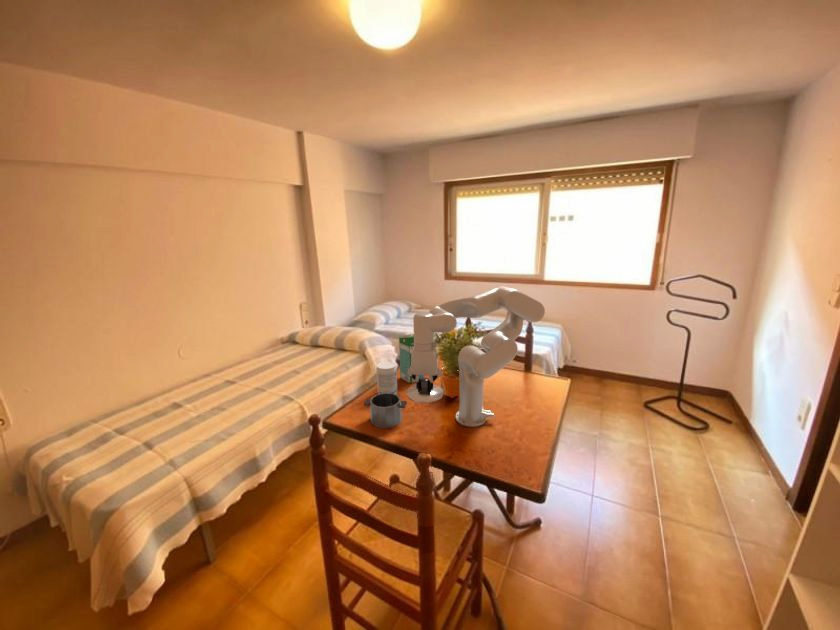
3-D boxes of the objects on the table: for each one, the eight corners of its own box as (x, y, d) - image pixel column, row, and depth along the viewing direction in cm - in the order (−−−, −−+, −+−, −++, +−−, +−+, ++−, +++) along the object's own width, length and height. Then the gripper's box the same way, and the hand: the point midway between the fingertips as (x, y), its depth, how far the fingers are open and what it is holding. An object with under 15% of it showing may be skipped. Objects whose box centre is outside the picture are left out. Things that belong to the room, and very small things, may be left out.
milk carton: (413, 373, 186) (412, 329, 180) (423, 378, 179) (423, 333, 173) (400, 377, 181) (398, 333, 174) (410, 383, 174) (409, 337, 168)
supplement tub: (401, 394, 163) (400, 366, 159) (383, 399, 158) (382, 370, 154) (391, 386, 171) (390, 359, 167) (374, 391, 165) (372, 363, 162)
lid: (443, 388, 137) (443, 372, 135) (442, 406, 123) (442, 388, 121) (409, 388, 138) (408, 371, 136) (404, 405, 125) (404, 387, 123)
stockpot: (409, 412, 146) (408, 394, 144) (403, 429, 134) (402, 409, 132) (370, 410, 149) (369, 391, 146) (361, 426, 136) (360, 406, 134)
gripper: (447, 343, 128) (447, 387, 132) (404, 341, 130) (405, 385, 135) (445, 349, 121) (445, 396, 125) (400, 348, 123) (401, 394, 128)
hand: (424, 390), depth 130 cm, fingers closed on lid, 3 cm apart
